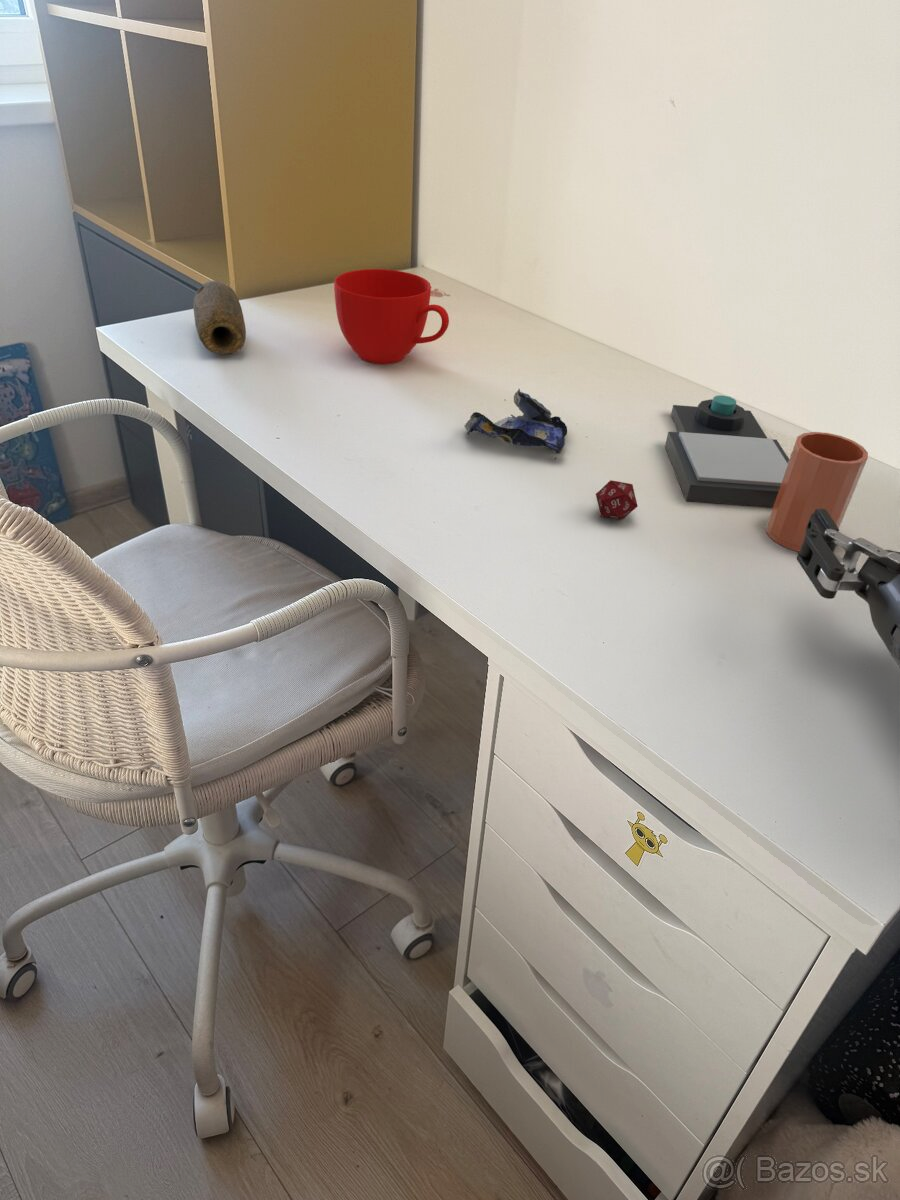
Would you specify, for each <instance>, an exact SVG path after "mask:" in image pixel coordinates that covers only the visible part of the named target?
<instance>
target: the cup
mask: <svg viewBox="0 0 900 1200" xmlns="http://www.w3.org/2000/svg"><path fill="white" fill-rule="evenodd" d="M868 458H869V453H868V450H866V448H865V447H864V446H863V445H861V444H859V443H858V442H856V441H855V440H853V439H850V438H847V437H845V436H842V435H840V434H839V435H838V434H834V433H829V432H821V431H809V432H803V433H801V434H799V435H797V437H796V439H795V442H794V445H793V448H792V451H791V454H790V456H789V462H788V465H787V468H786V470H785V473H784V476H783V479H782V482H781V485H780V488H779V491H778V493H777V496H776V499H775V502H774V505H773V507H771V511H770V514H769V516H768V520H767V523H766V527H765V531H766V533H767V535H768V537H769V538H770V539H771V540H772V541H774V542H775V543H776V544H779V545H780V546H782V547H784V548H786V549H788V550H789V549H790V551H791V550H792V551H795V552H799V551H800V549H801V546H802V544H803V541H804V537H805V534H806V527H807V524H808V521H809V519H810V516H811V514H814V512H815V510H816V509H826V510H827V512H828V513H829V515H830V516H831V518H832V519H833V521H834V522H835V524H836V525H837V527H838V529H839V530H840V527H841V524H842V522H843V519H844V517H845V514H846V512H847V510H848V507H849V505H850V502H851V500H852V498H853V495H854V492H855V490H856V488H857V485H858V482H859V481H860V478H861V476H862V473H863V470H864V468H865V467H866V464H867V461H868Z"/></svg>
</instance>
